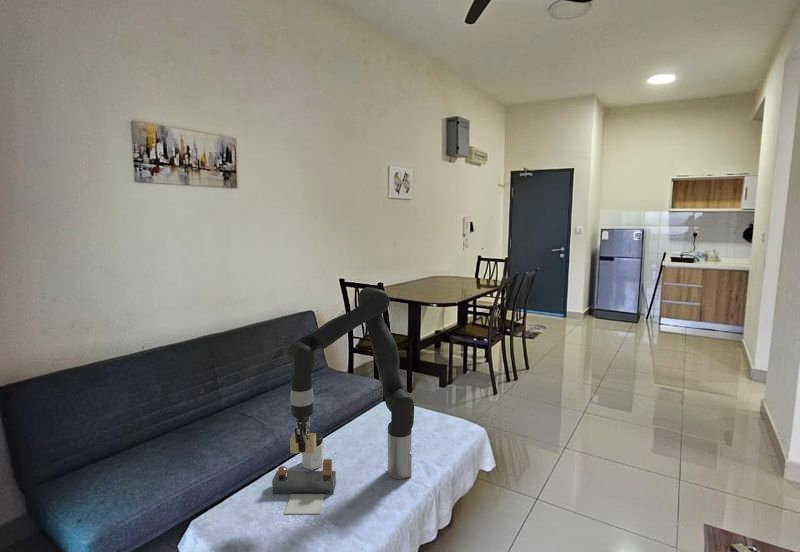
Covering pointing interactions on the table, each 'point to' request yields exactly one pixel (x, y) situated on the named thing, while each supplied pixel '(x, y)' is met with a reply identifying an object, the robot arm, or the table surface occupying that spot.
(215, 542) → the table surface
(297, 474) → the body
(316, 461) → the jar
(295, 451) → the lever cap
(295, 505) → the felt mat
